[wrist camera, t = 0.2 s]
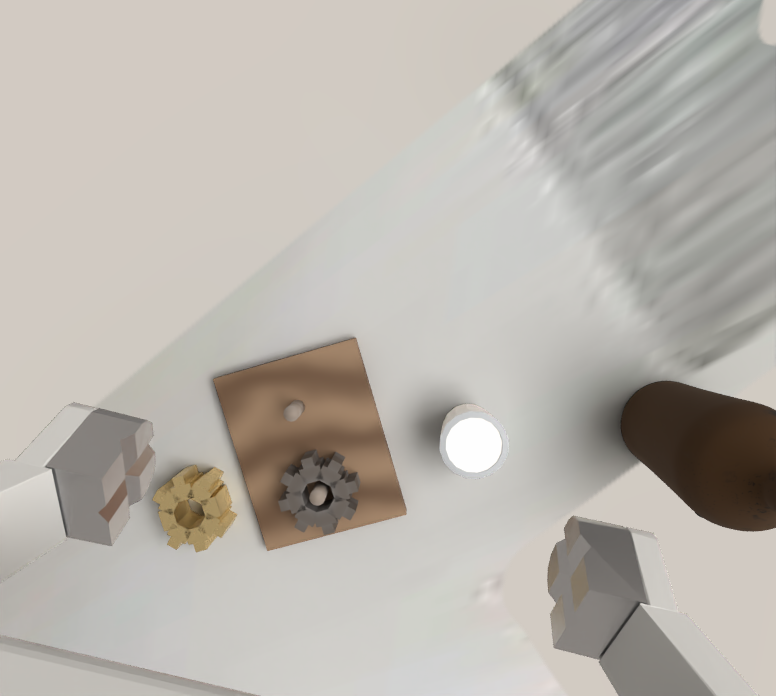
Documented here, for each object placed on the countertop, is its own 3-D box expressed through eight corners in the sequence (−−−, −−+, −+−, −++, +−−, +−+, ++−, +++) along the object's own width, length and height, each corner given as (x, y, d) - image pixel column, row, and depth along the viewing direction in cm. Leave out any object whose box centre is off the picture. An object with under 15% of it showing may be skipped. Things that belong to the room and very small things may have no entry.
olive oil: (607, 383, 65) (727, 444, 40) (707, 367, 64) (892, 418, 39) (621, 478, 66) (746, 595, 41) (720, 463, 65) (908, 572, 40)
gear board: (406, 509, 67) (405, 527, 62) (270, 545, 68) (259, 565, 63) (355, 337, 66) (350, 341, 61) (217, 377, 67) (201, 384, 62)
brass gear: (241, 528, 68) (231, 542, 64) (185, 543, 69) (171, 558, 65) (219, 458, 68) (207, 469, 64) (162, 473, 68) (147, 485, 64)
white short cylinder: (429, 450, 66) (431, 469, 60) (445, 391, 66) (449, 403, 59) (490, 466, 66) (498, 487, 59) (506, 406, 66) (517, 421, 59)
